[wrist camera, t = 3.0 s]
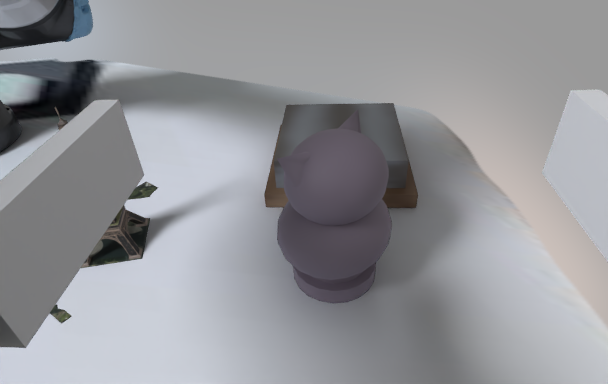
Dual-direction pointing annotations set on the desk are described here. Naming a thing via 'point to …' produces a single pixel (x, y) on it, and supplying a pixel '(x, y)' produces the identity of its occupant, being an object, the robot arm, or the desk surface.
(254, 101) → the desk surface
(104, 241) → the eiffel tower figurine
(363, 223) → the cat figurine
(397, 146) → the display plinth
